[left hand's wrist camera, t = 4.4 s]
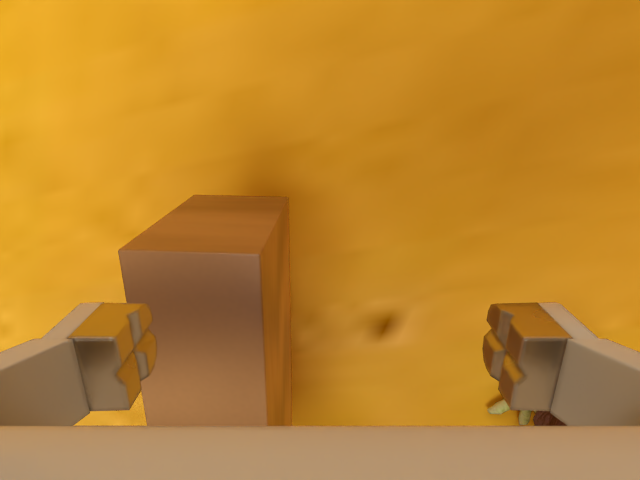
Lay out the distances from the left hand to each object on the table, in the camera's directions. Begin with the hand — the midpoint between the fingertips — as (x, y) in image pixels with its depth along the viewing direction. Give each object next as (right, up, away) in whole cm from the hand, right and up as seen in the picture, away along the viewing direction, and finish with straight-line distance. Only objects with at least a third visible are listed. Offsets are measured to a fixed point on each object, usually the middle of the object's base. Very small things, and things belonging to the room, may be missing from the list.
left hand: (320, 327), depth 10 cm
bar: (-5, -6, +19) cm, 21 cm away
